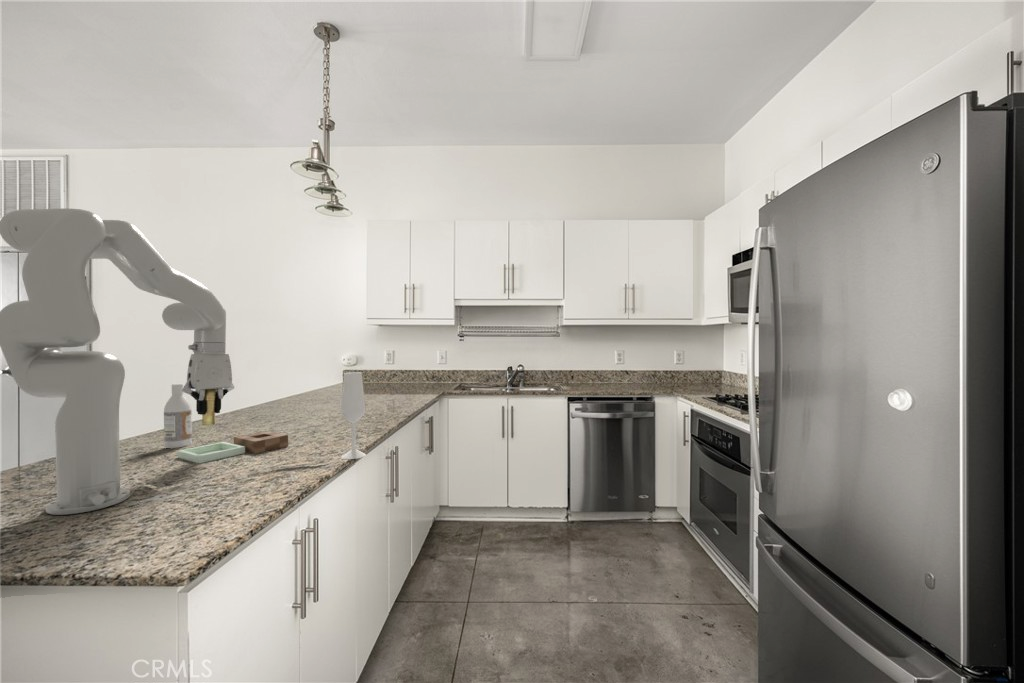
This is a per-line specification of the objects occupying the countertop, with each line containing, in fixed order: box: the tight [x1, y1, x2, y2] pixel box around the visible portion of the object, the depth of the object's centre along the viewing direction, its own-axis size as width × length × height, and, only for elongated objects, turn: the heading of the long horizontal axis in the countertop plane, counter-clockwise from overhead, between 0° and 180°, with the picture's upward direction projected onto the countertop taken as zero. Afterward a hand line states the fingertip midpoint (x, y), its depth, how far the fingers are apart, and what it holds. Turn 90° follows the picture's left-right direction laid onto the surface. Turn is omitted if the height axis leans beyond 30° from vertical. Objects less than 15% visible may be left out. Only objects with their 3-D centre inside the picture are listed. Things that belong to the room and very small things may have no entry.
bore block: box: [233, 430, 289, 454], centre depth 136 cm, size 12×10×4 cm
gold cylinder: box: [201, 389, 216, 426], centre depth 126 cm, size 3×3×12 cm
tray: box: [177, 441, 246, 464], centre depth 127 cm, size 12×12×2 cm
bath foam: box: [163, 383, 193, 449], centre depth 139 cm, size 7×7×20 cm
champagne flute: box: [340, 371, 367, 460], centre depth 127 cm, size 7×7×24 cm
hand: (208, 412), depth 125 cm, fingers closed on gold cylinder, 3 cm apart
